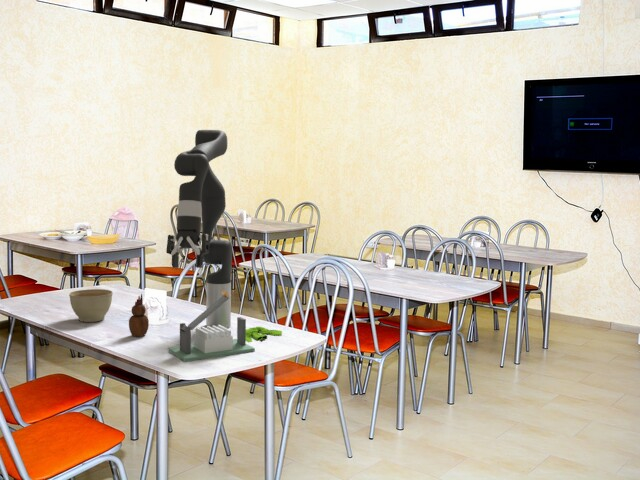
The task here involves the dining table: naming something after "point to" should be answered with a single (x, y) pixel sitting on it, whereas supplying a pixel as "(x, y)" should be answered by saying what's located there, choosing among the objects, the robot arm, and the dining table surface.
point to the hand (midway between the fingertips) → (186, 267)
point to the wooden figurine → (138, 319)
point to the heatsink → (211, 342)
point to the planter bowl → (91, 304)
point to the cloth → (260, 333)
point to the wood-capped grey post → (208, 311)
